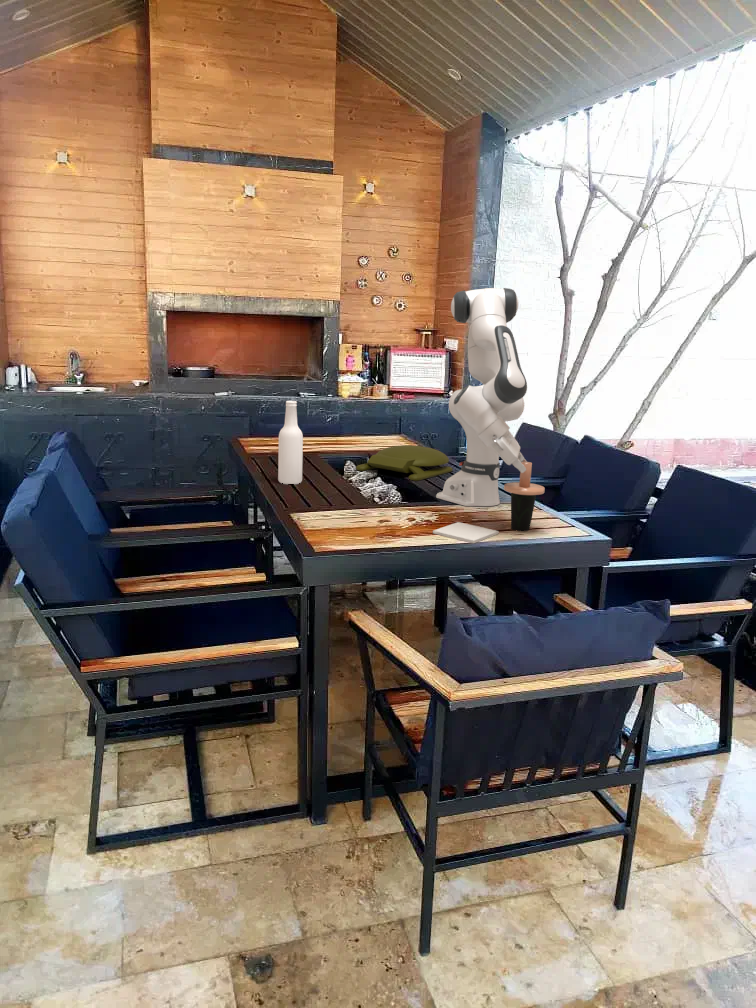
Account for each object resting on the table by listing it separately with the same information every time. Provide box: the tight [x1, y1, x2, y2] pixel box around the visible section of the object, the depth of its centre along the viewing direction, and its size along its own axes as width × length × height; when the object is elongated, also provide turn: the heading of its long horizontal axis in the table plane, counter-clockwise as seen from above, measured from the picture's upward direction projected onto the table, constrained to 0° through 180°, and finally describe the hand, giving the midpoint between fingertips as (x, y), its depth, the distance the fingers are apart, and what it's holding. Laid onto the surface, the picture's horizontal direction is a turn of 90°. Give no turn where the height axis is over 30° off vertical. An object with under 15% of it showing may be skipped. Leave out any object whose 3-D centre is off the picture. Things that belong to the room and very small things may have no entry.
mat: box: [432, 521, 499, 544], centre depth 224 cm, size 14×14×1 cm
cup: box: [510, 493, 537, 532], centre depth 231 cm, size 8×8×12 cm
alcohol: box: [277, 400, 304, 485], centre depth 278 cm, size 9×9×30 cm
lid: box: [503, 461, 545, 496], centre depth 228 cm, size 12×12×8 cm
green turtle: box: [355, 444, 453, 482], centre depth 314 cm, size 35×31×10 cm
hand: (525, 468), depth 228 cm, fingers open, 8 cm apart
